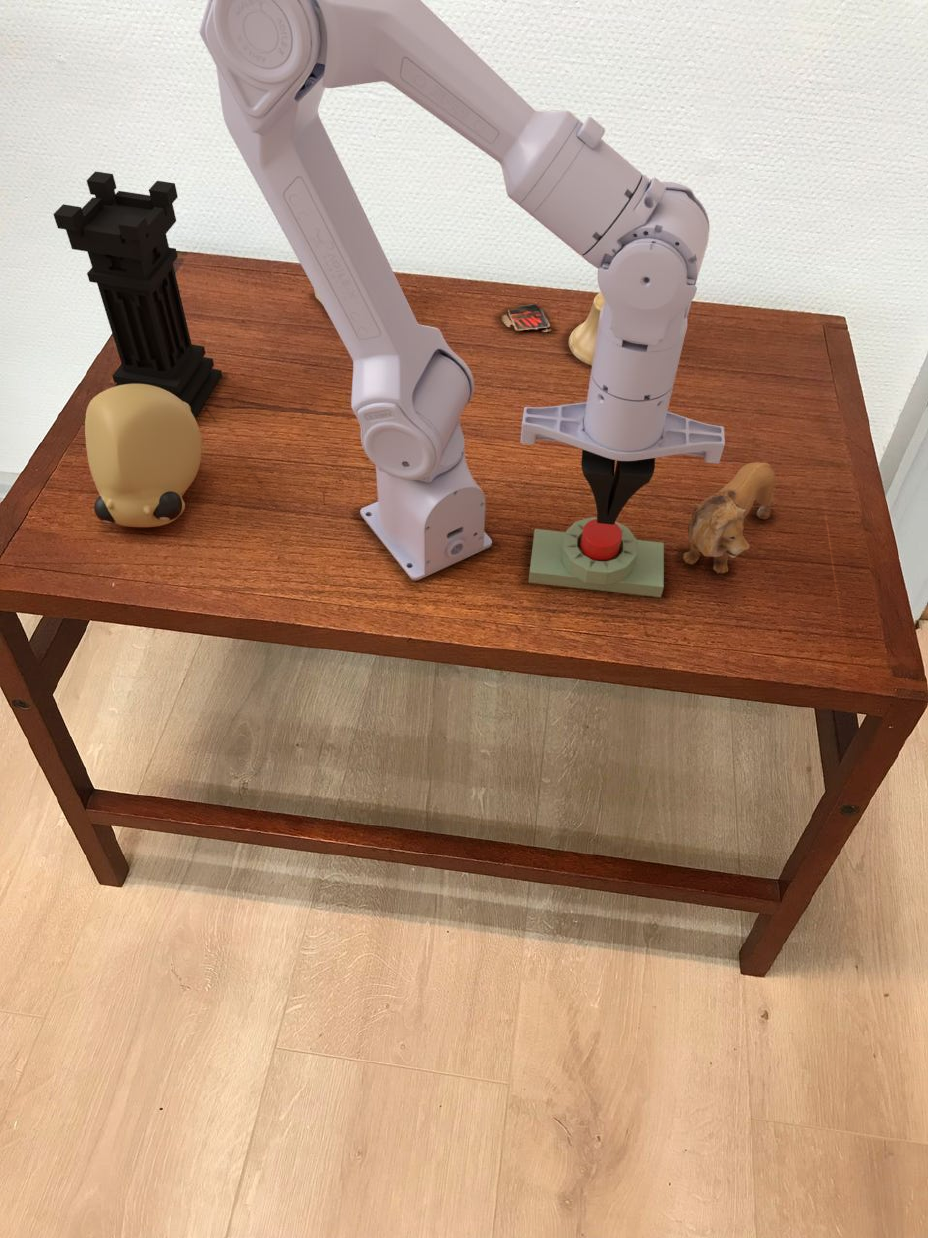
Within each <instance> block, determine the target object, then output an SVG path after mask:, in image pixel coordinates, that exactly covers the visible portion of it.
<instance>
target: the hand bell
mask: <svg viewBox="0 0 928 1238" xmlns="http://www.w3.org/2000/svg"><path fill="white" fill-rule="evenodd" d="M604 302H605V299H604V297H603V295H602V293H601V291H600V292H598V293H597V294H596V295H595V297H594V299H593V301H592V304H591V308H590V311H589V314H588V316H587V317H586V319H585V320H584V322H582V323H580V324H579V325H578V326H576V327H574V329H573V330H572V332H571V334H570V335H569V337H568V346H569V349H570V351H571V353H572V354H573V356H574V357H575V358H576V359H577V360H579V361H581V362H582V363H584V364H586V365H588V366H591V367H592V363H593V357H594V350H595V343H596V337H597V330H598V323H599V316H600V312H601V309H602V307H603V306H604Z"/></svg>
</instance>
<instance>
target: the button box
mask: <svg viewBox="0 0 928 1238" xmlns="http://www.w3.org/2000/svg"><path fill="white" fill-rule="evenodd" d="M594 519H597V516H591V517H587V518H584V519H581V520H577V521H574V522H573V524H571V526H570V527H568V528H567V529H566V531H558V530H551V529H541V528H534V530H533V538H532V548H531V555H530V565H529V574H528V582H527V583H529V584H531V583H532V584H539V585H548V586H557V587H565V588H576V589H584V590H591V591H592V590H593V591H599V592H601V591H602V592H609V593H620V594H627V595H637V596H646V597H656V598H662V595H663V591H664V588H665V543H664V542H662V541H661V542H659V541H651V540H642V539H637V538H636V537H635V535H634V534H633V532H632V531H631V530H630V528H629V527H627V526H626V525H623V524H621V523H620V522H618V521H617V520H616V521H615V523H616V524H617V525H618V526H619V527H620V529H621V531H622V539H621V544H620V548H619V552H618V554H617V555H616V556H615V557H614V558H612V559H610V560H607V561H597V560H593V559H591V558H589V557H587V556H586V555H585V554H584V553H583V551H582V550H581V546H580V544H581V538H582V532H583V528H584V526H585V525H586V523H588V522H589V521H591V520H594Z"/></svg>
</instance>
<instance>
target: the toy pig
mask: <svg viewBox="0 0 928 1238" xmlns="http://www.w3.org/2000/svg"><path fill="white" fill-rule="evenodd" d="M114 386H115V385H114ZM114 386H112V387H109V388H107V389H105V390H103V391H101V392H99V393H98V394H97V395H95V396H94V397H93V398H92V399H90V402H89V403H88V405H87V407H86V411H85V420H84V434H85V448H86V449H85V450H86V455H87V463H88V468H89V471H90V474H91V477H92V480H93V482H94V485H95V488H96V491H97V493H98V496H97V498H96V500H95V501H94V505H93V509H94V513H95V516H96V517H97V518H98V520H100V521H101V522H103V523H106V524H116V525H119V526H122V527H129V528H156V527H161V526H166V525H169V524H171V523H172V522H174V521H176V520H177V519H178V518H179V517H180V516H181V515H182V514H183V513H184V511H185V508H186V504H185V501H184V499H183V496H184V494H185V493H186V492H187V490H188V489H189V488H190V486H191V485H192V483H194V480H195V479H196V476H197V474H198V472H199V469H200V467H201V466H200V465H201V461H202V455H203V453H202V452H203V441H202V435H201V431H200V428H199V424H198V422H197V419H195V418H194V416H193V414H192V412H191V408H190V406H189V405H188V404H187V403H186V402H183V401H181V400H180V399H179V398H178V397H177V396H175V395H174V394H172V393H170V392H168V391H166V390H164V389H162V388H159V387H156V386H152V385H147V384H125V385H119V386H115V387H114Z"/></svg>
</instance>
